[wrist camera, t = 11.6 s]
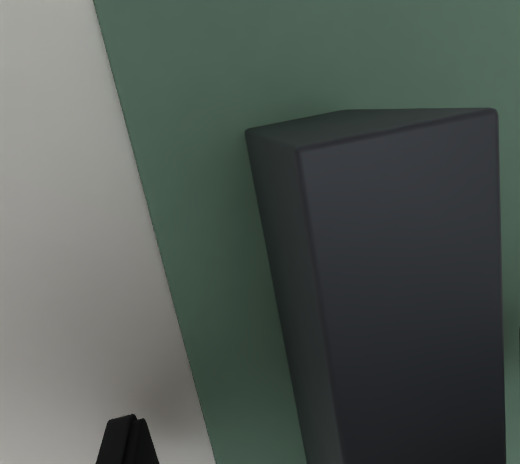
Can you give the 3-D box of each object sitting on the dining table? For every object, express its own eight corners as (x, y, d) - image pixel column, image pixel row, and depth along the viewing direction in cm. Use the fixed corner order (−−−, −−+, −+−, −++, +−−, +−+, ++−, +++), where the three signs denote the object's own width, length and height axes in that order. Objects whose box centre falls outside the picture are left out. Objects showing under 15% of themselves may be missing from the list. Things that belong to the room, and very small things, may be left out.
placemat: (95, -1, 9) (90, -7, 9) (664, -96, 10) (683, -105, 10) (267, 649, 15) (269, 664, 14) (617, 544, 16) (627, 555, 15)
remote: (243, 129, 10) (292, 148, 5) (354, 107, 10) (515, 102, 5) (329, 580, 14) (404, 849, 9) (405, 557, 14) (523, 807, 9)
